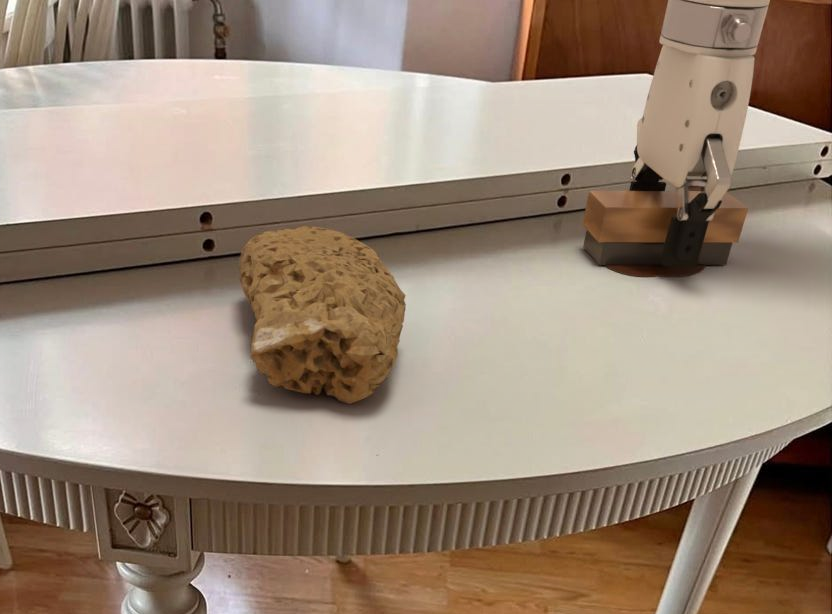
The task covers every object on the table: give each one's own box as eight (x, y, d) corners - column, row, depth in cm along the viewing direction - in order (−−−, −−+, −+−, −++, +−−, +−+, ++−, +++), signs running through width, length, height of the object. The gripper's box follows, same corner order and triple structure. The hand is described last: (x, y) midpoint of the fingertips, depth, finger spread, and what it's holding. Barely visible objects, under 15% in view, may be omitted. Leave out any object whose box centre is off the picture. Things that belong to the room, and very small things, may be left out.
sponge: (403, 429, 66) (420, 260, 79) (389, 330, 60) (409, 164, 73) (214, 439, 69) (259, 273, 81) (182, 345, 63) (236, 181, 75)
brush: (711, 246, 93) (726, 191, 90) (731, 265, 90) (748, 208, 86) (577, 246, 91) (588, 190, 88) (593, 265, 88) (605, 207, 85)
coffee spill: (691, 239, 95) (691, 238, 95) (732, 276, 88) (733, 275, 88) (580, 239, 93) (580, 238, 93) (613, 277, 86) (614, 275, 86)
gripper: (810, 52, 73) (739, 283, 84) (710, 7, 86) (659, 212, 97) (714, 49, 72) (654, 283, 83) (627, 4, 85) (586, 212, 96)
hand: (657, 244), depth 90 cm, fingers open, 8 cm apart
